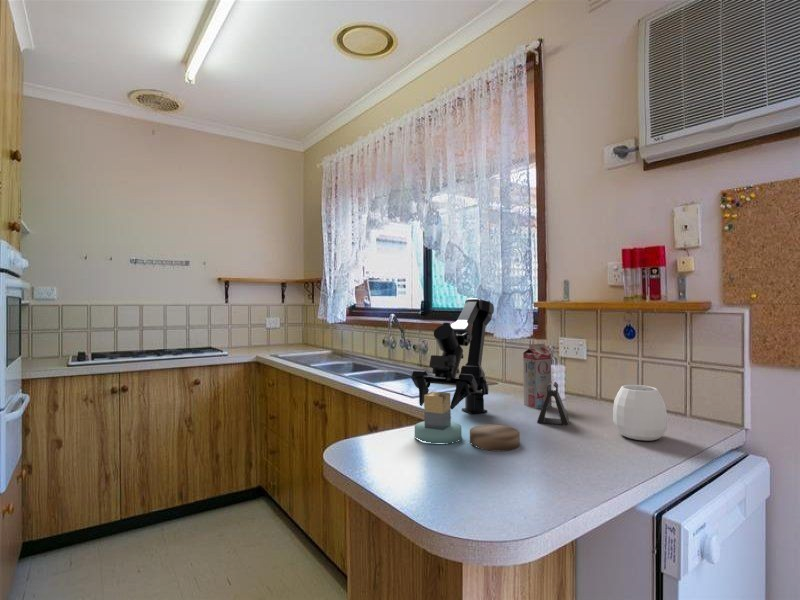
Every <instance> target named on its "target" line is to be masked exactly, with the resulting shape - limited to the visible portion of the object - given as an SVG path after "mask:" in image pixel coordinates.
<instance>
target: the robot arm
mask: <svg viewBox="0 0 800 600" xmlns="http://www.w3.org/2000/svg"><path fill="white" fill-rule="evenodd" d="M494 312H495V307H494V304H493V303H492V302H491V301H490V300H483V299H482V298H480V297H479V298H475V297H473V298H470V297H469V298H467V299H465V303H464V306H463V308H462V310H461V312H460V314H459V316H458V318H457V320H456V321H455V322H453V323H450V322H443V323H442V325H440V326H438V327H436V329H434V330H433V338H434V339H435V341H436V343H437V346H438V348H439V350H440V351H442V354H441V355H438V354H437V355H436V354H433V355H430V360H429V365H428V367H429V368H431V369H432V370H431V371H432V374H434V375H428V373H427V371H426V370H413V371H412V372H411V375H410V379H411V380H412V382H413V384H414V386H415V388H416V389H417V388H418V397H419V398H418V400H419V402H418V403H419V405H420V407H422V406H424V395H426V394H428V393H430V389H429V388H430V386H431V384H438V385H442V386H443V385H444V386H454V387H455V390H454V394H453V396H452V399H451V401H450V408H451V410H453V409H455V407H457V406H458V405H459V404H460V403H461V402H462V401H463V400H464V399H465V407H463V408H461V411H464V412H465V413H468V414H470V415H475V414H483V413H487V412H488V409H485V405H484V404H485V401H484V396H487V395H489V384H488V382H487V379H486V377H485V376H486V373H485V371H484V370H483V367H482V360H483V352H484V343H485V336H486V329H487V325H488V324H489V323H490V322H491V321H492V317H493V314H494ZM467 346H469V348H468V355H467V362H466V364H465V365H462V366H461V367H460V368H461V369H460V368H459V366H460V363H461V360H462V359H464V354H463V353H464V350H463V347H467ZM457 374H459V375H458V377H456V376H457Z"/></svg>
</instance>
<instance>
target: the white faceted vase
mask: <svg viewBox="0 0 800 600" xmlns="http://www.w3.org/2000/svg"><path fill="white" fill-rule="evenodd" d="M612 420H613V424H614V427H615V429H616V430H617V432H619V433H620V434H621V435H622V436H624V437H625V438H628V439H631V440H636V441H637V440H638V441H657V440H658V439H660V438H661V437H663V436H664V435H665V433H666V430H667V428H668V413H667V407H666V403H665V401H664V398H663V396H662V394H660V391H659V390H658V388H656V387H653V386H650V385H643V384H624V385H621V387H620V389H619V390H618V392H617V394H616V395H615V398H614V401H613V409H612Z"/></svg>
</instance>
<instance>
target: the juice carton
mask: <svg viewBox="0 0 800 600" xmlns="http://www.w3.org/2000/svg"><path fill="white" fill-rule="evenodd" d="M545 344H546V343H543V342H542V343H530V344H528V349H526V350H525V351H524V352H523V353H522V354H523V358H522V360H523V365H522V366H523V406H526V405H527V407H529V408H533V409H534V410H535V409H536V410H537V409H538V410H539V409H542V407H543V404H544V402H545V399H546V396H547V387H548V384H549V383H550V382H551V381H552V353H551V352H550V351H549V350H548V349H547V348H546V345H545ZM549 387H550V389H551V390H552V385H551V386H549ZM552 405H553V404H552V396H551V397H550V399H549V403H548V407H547V408H552V407H553V406H552Z"/></svg>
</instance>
